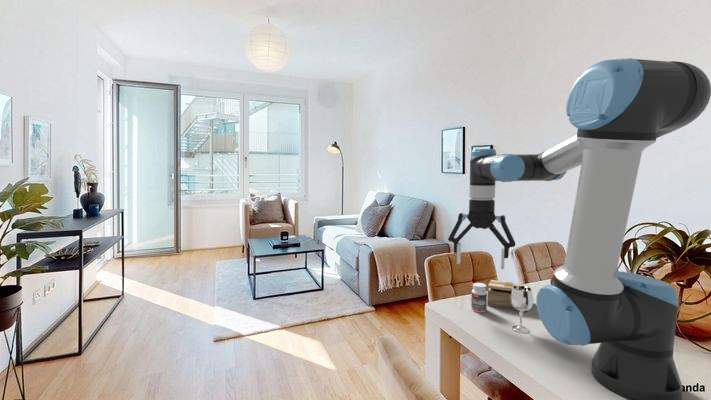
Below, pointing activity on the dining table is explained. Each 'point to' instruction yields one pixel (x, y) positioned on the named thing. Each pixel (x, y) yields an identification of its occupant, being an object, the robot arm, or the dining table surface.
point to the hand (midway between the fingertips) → (480, 265)
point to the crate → (500, 298)
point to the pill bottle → (479, 298)
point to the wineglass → (521, 304)
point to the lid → (504, 285)
